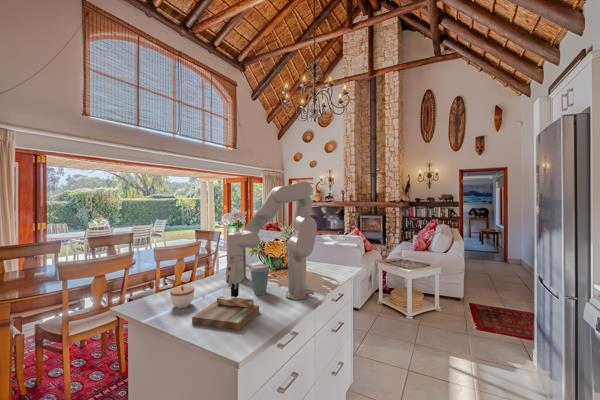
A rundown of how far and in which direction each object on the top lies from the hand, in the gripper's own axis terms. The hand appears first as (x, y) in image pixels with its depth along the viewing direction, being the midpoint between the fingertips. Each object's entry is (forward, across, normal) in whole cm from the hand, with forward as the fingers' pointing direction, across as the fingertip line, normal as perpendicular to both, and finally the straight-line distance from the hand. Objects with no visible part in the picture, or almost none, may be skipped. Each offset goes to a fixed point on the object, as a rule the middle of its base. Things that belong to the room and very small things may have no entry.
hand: (234, 296), depth 132 cm
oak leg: (+1, -6, -4) cm, 7 cm away
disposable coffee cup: (+5, +20, -4) cm, 21 cm away
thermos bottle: (+5, +41, +20) cm, 45 cm away
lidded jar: (+5, -6, +25) cm, 26 cm away
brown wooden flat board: (+5, -12, -3) cm, 14 cm away
